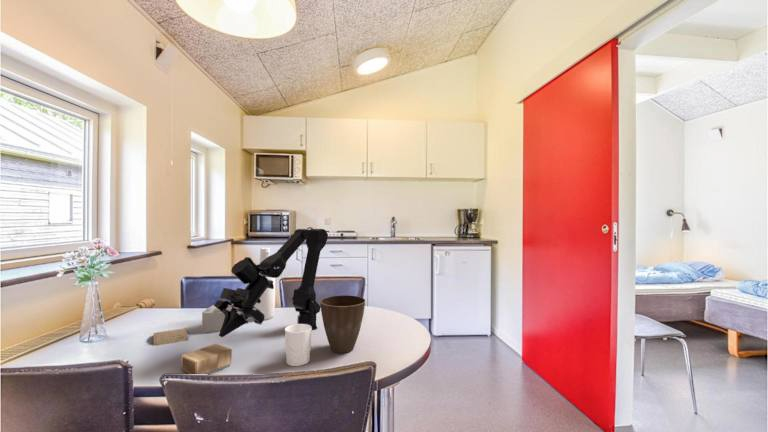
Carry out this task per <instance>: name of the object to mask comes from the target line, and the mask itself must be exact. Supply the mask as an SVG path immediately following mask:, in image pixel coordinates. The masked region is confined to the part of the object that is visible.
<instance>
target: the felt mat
mask: <svg viewBox="0 0 768 432" xmlns="http://www.w3.org/2000/svg"><path fill="white" fill-rule="evenodd" d="M228 366H229V367H231V365H230V364H228V365H225V366H223V367H220V368H218V369H216V370H213V371H211V372H208V373H206V374H210V375H211V373H212V374H214V373H213V372H215V373H216V371H217V372H220V371H222V370H223V368H224V369H227V368H229V367H228ZM226 367H227V368H226ZM221 369H222V370H221Z"/></svg>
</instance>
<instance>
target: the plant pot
mask: <svg viewBox="0 0 768 432" xmlns="http://www.w3.org/2000/svg"><path fill="white" fill-rule="evenodd" d="M319 305H320V306H321V308H320V312H321V316H322V317H321V319H322V322H323V328H324V332H325V335H326V338H327V341H328V345H329V348H330V350H331V351H332V352H334V353H336V354H345V353H349V352H352V351H353V350H354V349H355V346H356V343H357V340H358V337H359V335H360V331H361V328H362V327H361V326H362V323H363V319H364V318H363V317H364V313H365V306H366V299H365V298H364V297H361V296H359V295H358V296H357V295H349V294H346V295H345V294H344V295H341V294H340V295H331V296H326V297H324V298H322V299H320V304H319Z"/></svg>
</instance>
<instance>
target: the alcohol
mask: <svg viewBox="0 0 768 432" xmlns="http://www.w3.org/2000/svg"><path fill="white" fill-rule="evenodd" d="M259 250H260V251H259V254H260V255H259V264H260V263H261V262H262V261H263V260H264V259H266V258H267V257H269V256H271V255H270V254H271V251H270V250H271V249H270V247H262V248H259ZM259 274H260V273H259ZM260 275H261V274H260ZM261 276H262V275H261ZM266 278H267V279H268V280H271V281H273V285H274V288H273V289H270V288H267V289H266V290H265V292H264V293H263V294H262V296H261V297H260V300H261V302H260V303H256V304H255V306H254V307H256V308H257V309H258V310H259V311H261V312H262V313H263V314H264V315H265V316H264V321H268V320H272V319H273V318H274V317H275V315H276V278H272V277H266Z"/></svg>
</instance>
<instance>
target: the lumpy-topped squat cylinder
mask: <svg viewBox="0 0 768 432" xmlns="http://www.w3.org/2000/svg"><path fill="white" fill-rule="evenodd" d="M232 305H233V304H232ZM201 313H202V315H201V323H202V324H201V331H202V332H204V333H218V332H219V333H220V330H221V328H222V325H223V322H224V319H225V314H224V313H222V312H221V311H220V310H219V309H217V308H216V307H215V306H214V304H213V305H212V304H211V305H210V306H209V307H208V308H206V309H204V310H203V311H202V312H201ZM238 328H240V327H238ZM238 328H237V329H238Z"/></svg>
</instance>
